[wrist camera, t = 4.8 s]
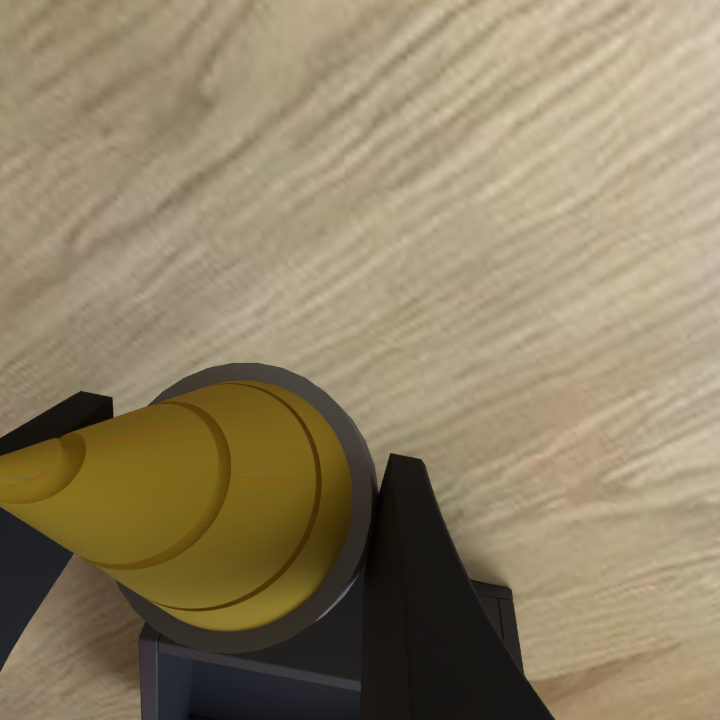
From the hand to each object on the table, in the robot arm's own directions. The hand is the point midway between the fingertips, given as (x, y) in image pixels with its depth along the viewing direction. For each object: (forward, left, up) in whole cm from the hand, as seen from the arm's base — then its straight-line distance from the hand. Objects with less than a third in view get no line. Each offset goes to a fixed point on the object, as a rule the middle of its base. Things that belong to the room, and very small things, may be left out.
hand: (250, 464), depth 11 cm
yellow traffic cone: (-1, 0, -2) cm, 2 cm away
